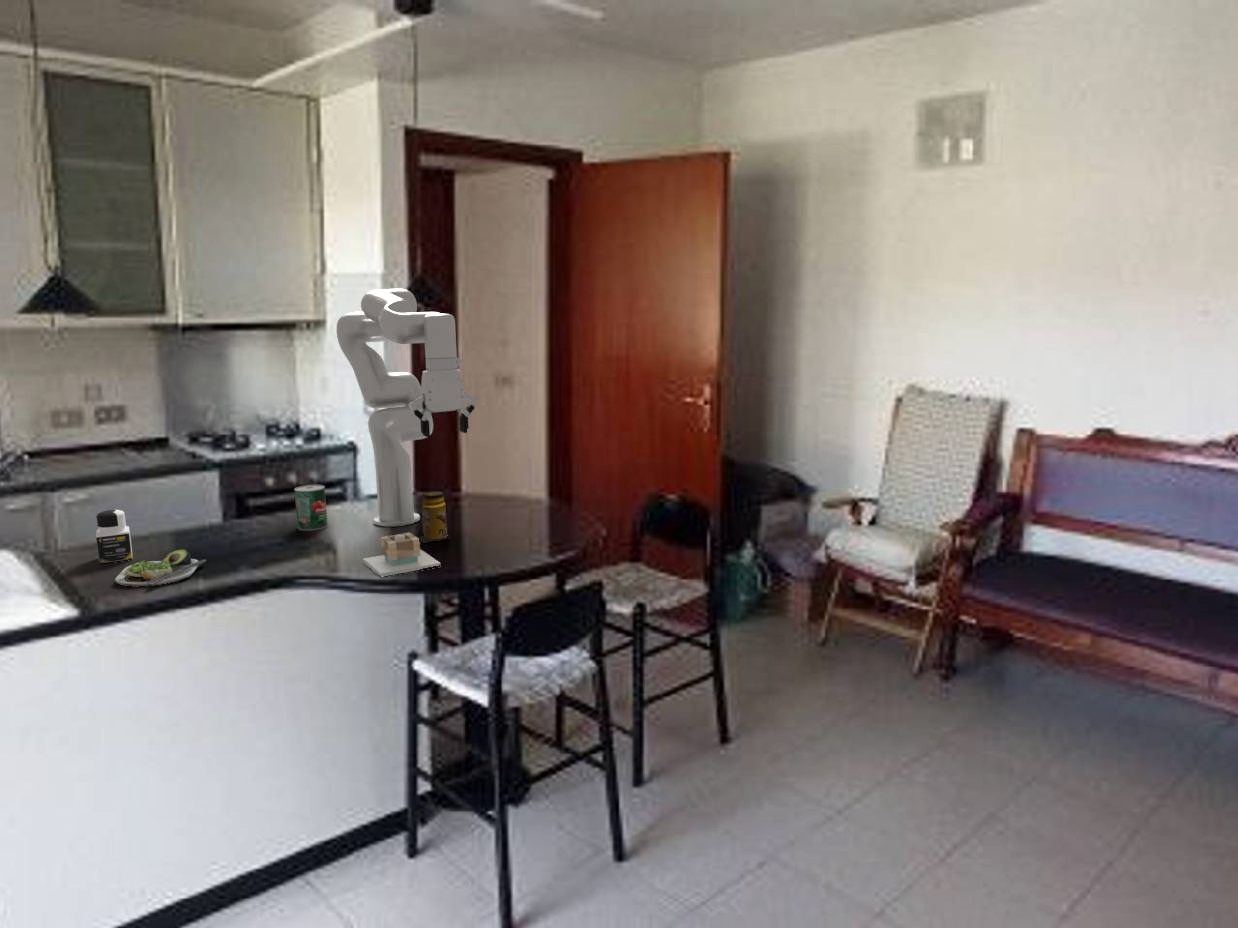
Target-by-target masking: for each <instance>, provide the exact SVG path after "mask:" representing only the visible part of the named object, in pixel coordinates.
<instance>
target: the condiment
mask: <svg viewBox="0 0 1238 928" xmlns="http://www.w3.org/2000/svg"><path fill="white" fill-rule="evenodd" d="M444 500H445V498H444V493H443V492H442V491H438V490H436V491H427V492H424V493H423V495H422V502H423V503H422V505H421V512H422V513H421V514H422V517H421V518H422V529H423V531H422V533H423V535H424V538H425V539H431V540H434V539H442V538H446V537H447V536H448V526H447V525H448V523H447V509H446V508H447V506H446V504H447V503H446V502H445V501H444Z"/></svg>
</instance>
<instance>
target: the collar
mask: <svg viewBox="0 0 1238 928" xmlns="http://www.w3.org/2000/svg"><path fill="white" fill-rule="evenodd" d="M395 535H405V540H399V541H395V539H394V536H395ZM417 537H418V536H415V535H414V534H413V533H411V532H404V533H398V534H397V533H396V534H393V535H392V534H391V535H385V536H380V546H381V554H382V555H384V556H386V557H387V558H388V559H389V560H391V561H392V560H398V559H403V558H409V557H415V556H420V549H421V546H420V545H421V543H420V542H419V538H417Z"/></svg>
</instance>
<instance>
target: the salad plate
mask: <svg viewBox="0 0 1238 928" xmlns="http://www.w3.org/2000/svg"><path fill="white" fill-rule="evenodd" d="M164 556H165V557H164V558H163V559H162V560H157V561H156V560H152V561H145V560H141V561H139V562H135V563H134V564H131V565H128V566H126V567H124V569H123V570H122V571H121V572H120V573H119V574H118V575H117V576H116V577H115V579H114V581H115V583H116V584H119V585H121V586H123V585H124V586H123V587H126V586H132V587H131V588H140V587H139V586H145V587H156V586H155V585H158V586H163V585H162V584H164V585H167V583H168V584H171V582H172V583H175V582H179V581H182V579H183V580H185V578H186V579H188V578H190V577H191V576H192V574H193V573H194V572H195V571H196V570H197V569H198V568H200V567H201V566H202V565H203V564H205V563H206V562H207V559H200V560H199V559H195V558H191V554H190V552H189V551H188V550H187V549H177V550H173V551H170V552H169V553H168V554H166V555H164ZM127 575H129V576H135V577H143V578H142V579H144V581H137V582H136V581H135V582H134V581H133V582H132V581H129V582H127V581H125V579H124V578H125V577H126V576H127ZM145 580H148V582H146V581H145Z"/></svg>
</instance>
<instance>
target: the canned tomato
mask: <svg viewBox="0 0 1238 928" xmlns="http://www.w3.org/2000/svg"><path fill="white" fill-rule="evenodd" d="M325 487H326V486H325V485H322V484H306V485H305V484H304V485H301V486H297V487H295V488H294V489H293V490H294V501H295V509H296V511H295V512H296V522H297V529H298V530H299V531H304V532H305V531H308V532H309V531H310V532H311V531H317V530H318V531H319V530H323V529H325V528H328V526H329V524H328V515H327V513H328V511H327V504H326V503H327V501H326V490H325Z"/></svg>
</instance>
